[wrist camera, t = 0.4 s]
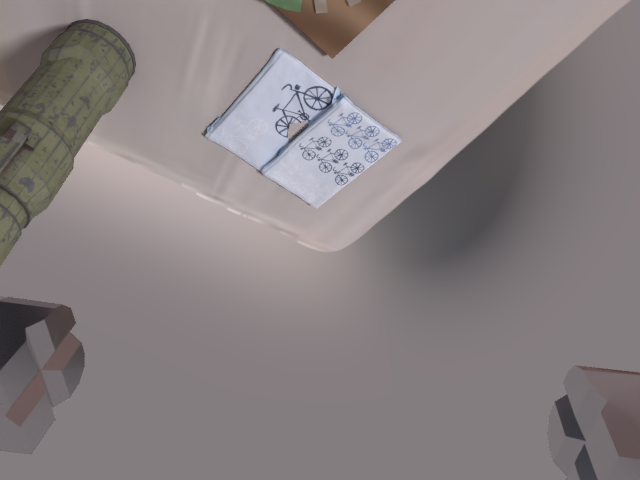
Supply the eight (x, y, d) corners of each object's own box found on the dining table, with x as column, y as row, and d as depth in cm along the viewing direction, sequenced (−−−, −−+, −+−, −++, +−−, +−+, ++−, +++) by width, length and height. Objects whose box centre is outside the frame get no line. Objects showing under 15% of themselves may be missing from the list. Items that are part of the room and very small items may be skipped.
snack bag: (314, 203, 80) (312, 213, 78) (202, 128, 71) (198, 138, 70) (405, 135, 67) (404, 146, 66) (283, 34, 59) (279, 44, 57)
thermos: (62, 75, 67) (-120, 301, 45) (66, -6, 58) (-158, 226, 36) (129, 103, 69) (-13, 333, 47) (143, 30, 60) (-24, 269, 38)
